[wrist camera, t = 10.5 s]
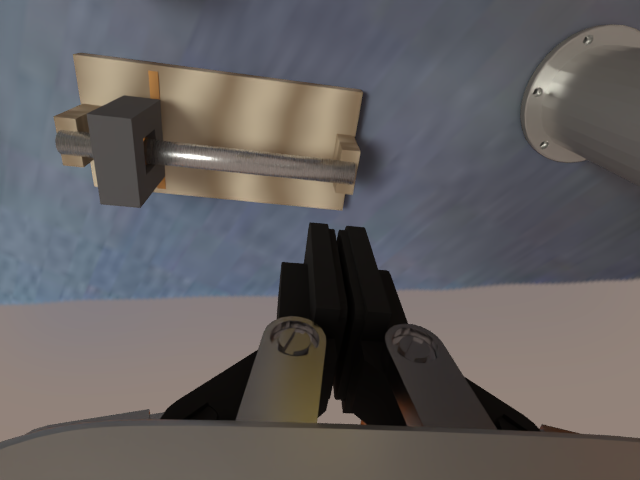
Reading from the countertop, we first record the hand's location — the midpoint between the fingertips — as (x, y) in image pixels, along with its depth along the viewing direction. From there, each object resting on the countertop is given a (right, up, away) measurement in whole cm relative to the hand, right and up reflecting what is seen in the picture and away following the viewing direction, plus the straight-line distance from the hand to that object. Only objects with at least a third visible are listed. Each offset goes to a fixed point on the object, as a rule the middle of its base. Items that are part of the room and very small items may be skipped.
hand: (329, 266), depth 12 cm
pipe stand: (-10, +11, +27) cm, 30 cm away
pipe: (-9, +8, +22) cm, 25 cm away
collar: (-16, +10, +23) cm, 30 cm away
